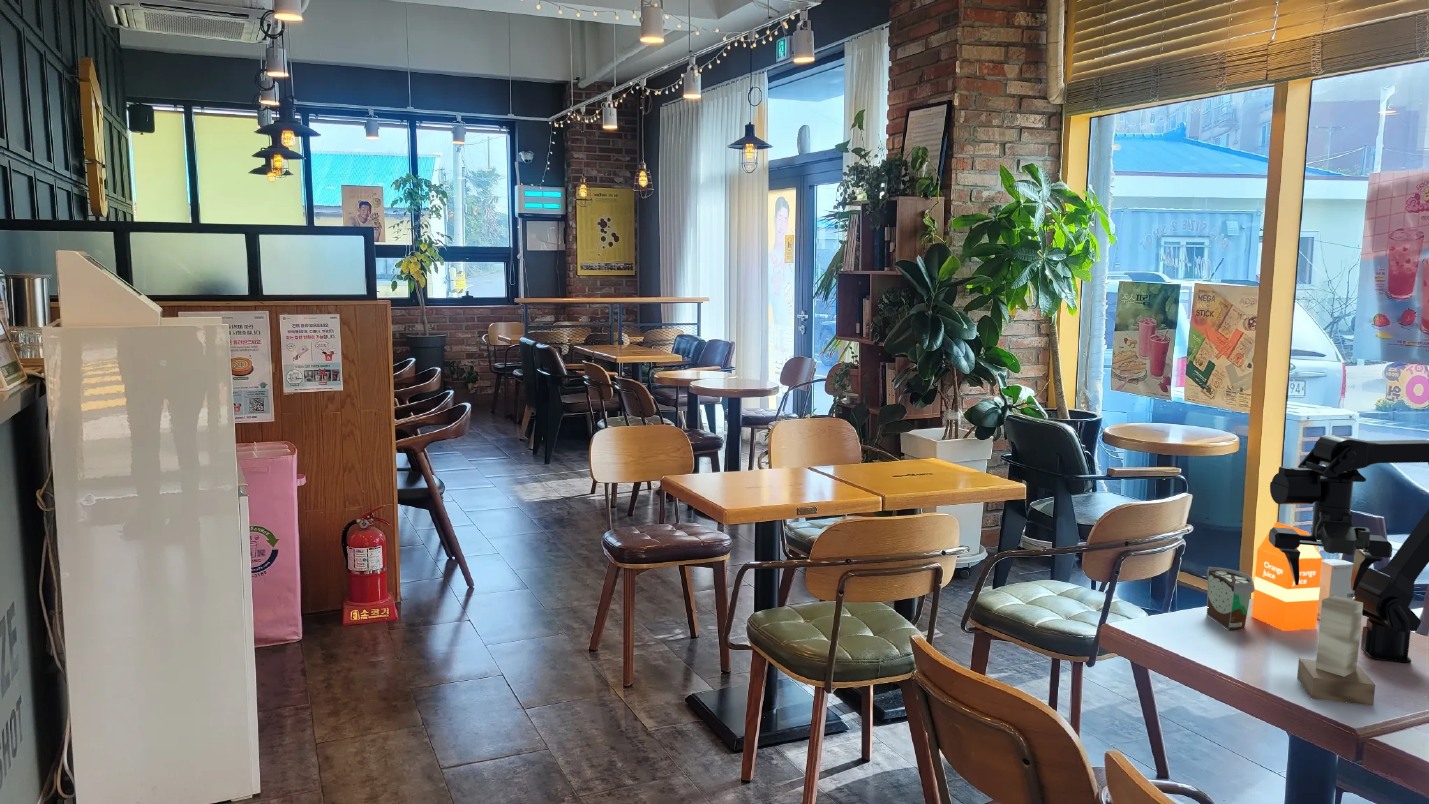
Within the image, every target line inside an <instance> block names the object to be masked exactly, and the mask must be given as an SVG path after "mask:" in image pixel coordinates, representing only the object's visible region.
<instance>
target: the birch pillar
mask: <svg viewBox="0 0 1429 804" xmlns="http://www.w3.org/2000/svg"><path fill="white" fill-rule="evenodd" d="M1362 610H1363V602H1359V601H1355V599H1353V600H1350V599H1346V598H1342V597H1338V596H1332V597H1329V598H1326V599H1323V600H1322V607H1321V617H1320V620H1319V630H1318V636H1317V637H1318V638H1317V650H1316V658H1315V660H1316V668H1317V669H1320V670H1323V671H1327V672H1330V673H1333V674H1336V675H1340V676H1343V677H1345V676H1347V675H1349V674H1352V673H1354V672H1356V669H1357V665H1358V659H1359V647H1360V639H1361V631H1362V630H1361V629H1362V628H1361V627H1362V618H1363V616H1362Z"/></svg>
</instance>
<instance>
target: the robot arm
mask: <svg viewBox="0 0 1429 804" xmlns="http://www.w3.org/2000/svg"><path fill="white" fill-rule="evenodd" d="M1403 463H1404V464H1408V463H1409V464H1410V463H1411V464H1414V463H1415V464H1416V463H1418V464H1419V463H1427V465H1428V466H1429V438H1428V439H1404V440H1403V439H1402V440H1401V439H1399V440H1397V439H1394V440H1391V439H1390V440H1364V439H1358V438H1354V437H1348V436H1341V435H1337V434H1335V435H1334V434H1324V435H1321V436H1320V437H1319V438H1318V439H1317V440H1316V441H1315V443H1314V445H1313V448H1312V449H1311V450H1310V451H1309V453H1308V454H1307V455H1306V456H1305V458H1303V460H1302V461H1301V462H1300V463H1299V465H1297V467H1289V466H1279V467H1278V472H1277V473H1275V475H1274V476H1273V477H1272V479H1271V481H1270V483H1269V492H1270V496H1271V498H1272V500H1273V501H1274V503H1275V504H1277V505H1312V512H1313V513H1312V524H1311V526H1310V533H1311V534H1309V535H1303V534H1298V533H1297V532H1296V531H1295V530H1294V529H1291V528H1279V527H1273V526H1272V528H1271V529H1269V532H1268V533H1269V540H1268V541H1269V542H1270V543H1271V544H1272V545H1273V546H1274V547H1275V548H1278V549H1279V550H1280V551H1281V552H1283V553H1285V556H1286V558H1287V560H1288V563H1289V566H1290V570H1291V573H1292V576H1293V580H1294V583H1295V585H1298V584H1299V557H1300V553H1301V552H1300V551H1299V550H1298V549H1297V547H1299V545H1300V544H1301V545H1313V546H1316V547H1323V551H1325V552H1326V553H1328V554H1333V555H1334V554H1344V555H1347V556H1353V555H1354V556H1353V561H1352V563H1353V569H1352V576H1351V589H1352V590H1353V597H1354V601H1359V602H1363V610H1362V617H1366V624H1365V625H1364V626H1363V627H1362V630H1361V631H1362V632H1361V643H1360V648H1361V649H1362V650H1363V651H1364V652H1365V653H1366V655H1368V657H1369V658H1371V659H1374V660H1382V661H1394V662H1399V663H1401V662H1402V663H1412V659H1411V658H1410V657H1409V651H1410V649H1409V648H1410V640H1411V632H1417V631H1418V629H1419V628H1420V625H1421V623H1422V620H1421V619H1420V618H1419V617H1418V616H1417V614H1415V612H1414V611H1413V610H1412V609H1411V608H1410V605H1411V604H1412V602H1413V600H1414V596H1415V595H1414V594H1415V582H1416V581H1417V579H1418V577H1419V576H1420V575H1421V574H1422V572H1423V570H1424V569H1426V566H1427V565H1428V564H1429V508H1428V510H1427V511H1426V512H1425V513H1424V515H1423V516H1422V518H1420V520H1419V522H1418V523H1417V524H1416V526H1415V527H1414V528H1413V529H1412V531H1411V532H1410V534H1409V535H1408V536H1407V537H1406V539H1405V540H1404V542H1403V543H1402V545H1401V546H1399V548H1398V550H1397V552H1396V553H1394V555H1393V545H1392V543H1391V542H1390V541H1389V540H1387V539H1386V538H1384V536H1382V535H1380V534H1379V535H1377V534H1376V535H1374V534H1371V531H1370V529H1369V527H1363V526H1356V527H1355V526H1353V524H1352V523H1353V522H1352V521H1353V520H1352V519H1353V518H1352V515H1353V514H1351V512H1352V511H1351V509H1352V500H1353V499H1352V497H1353V489H1354V483H1365V482H1367V478H1365V476H1363V475H1362V474H1361V473H1360V472H1359V470H1360V469H1365V468H1368V467H1369V466H1371V465H1376V464H1403ZM1392 556H1393V557H1392ZM1384 558H1386V559H1387V558H1388V559H1389V558H1391V560H1390V561H1388V564H1387V565H1385V566H1383V567H1381V568H1380V569H1378V570H1377V569H1374V568H1372V567H1371V566H1372V565H1373V564H1374V563H1376V562H1382V561H1383V559H1384Z"/></svg>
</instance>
